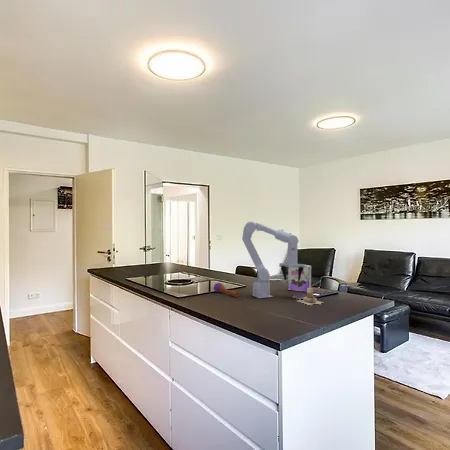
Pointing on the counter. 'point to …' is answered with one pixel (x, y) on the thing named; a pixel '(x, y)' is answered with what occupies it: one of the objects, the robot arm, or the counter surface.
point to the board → (309, 303)
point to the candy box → (304, 279)
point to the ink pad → (299, 296)
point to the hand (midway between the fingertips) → (292, 280)
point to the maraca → (220, 288)
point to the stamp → (310, 296)
